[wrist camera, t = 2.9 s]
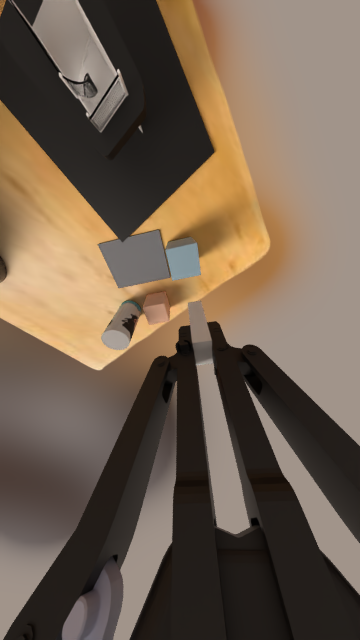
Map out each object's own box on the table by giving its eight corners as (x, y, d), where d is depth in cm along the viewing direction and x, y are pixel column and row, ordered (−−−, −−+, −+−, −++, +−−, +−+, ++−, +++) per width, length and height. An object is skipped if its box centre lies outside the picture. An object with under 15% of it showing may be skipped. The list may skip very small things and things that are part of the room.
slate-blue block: (173, 265, 40) (172, 280, 30) (167, 241, 36) (165, 249, 26) (194, 261, 39) (200, 274, 29) (190, 236, 36) (197, 242, 26)
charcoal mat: (119, 287, 43) (118, 288, 43) (98, 244, 36) (97, 244, 36) (170, 277, 42) (170, 277, 41) (159, 229, 35) (158, 229, 34)
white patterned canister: (120, 315, 49) (101, 347, 36) (120, 298, 45) (100, 327, 33) (140, 319, 50) (128, 351, 38) (142, 303, 46) (130, 332, 34)
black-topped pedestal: (-15, 81, 22) (-197, -55, 11) (82, -187, 14) (-232, -1585, 3) (122, 242, 36) (99, 251, 25) (214, 152, 27) (240, 104, 16)
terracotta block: (152, 310, 48) (149, 324, 41) (147, 294, 45) (142, 307, 38) (170, 307, 48) (169, 321, 41) (165, 291, 44) (163, 303, 38)
